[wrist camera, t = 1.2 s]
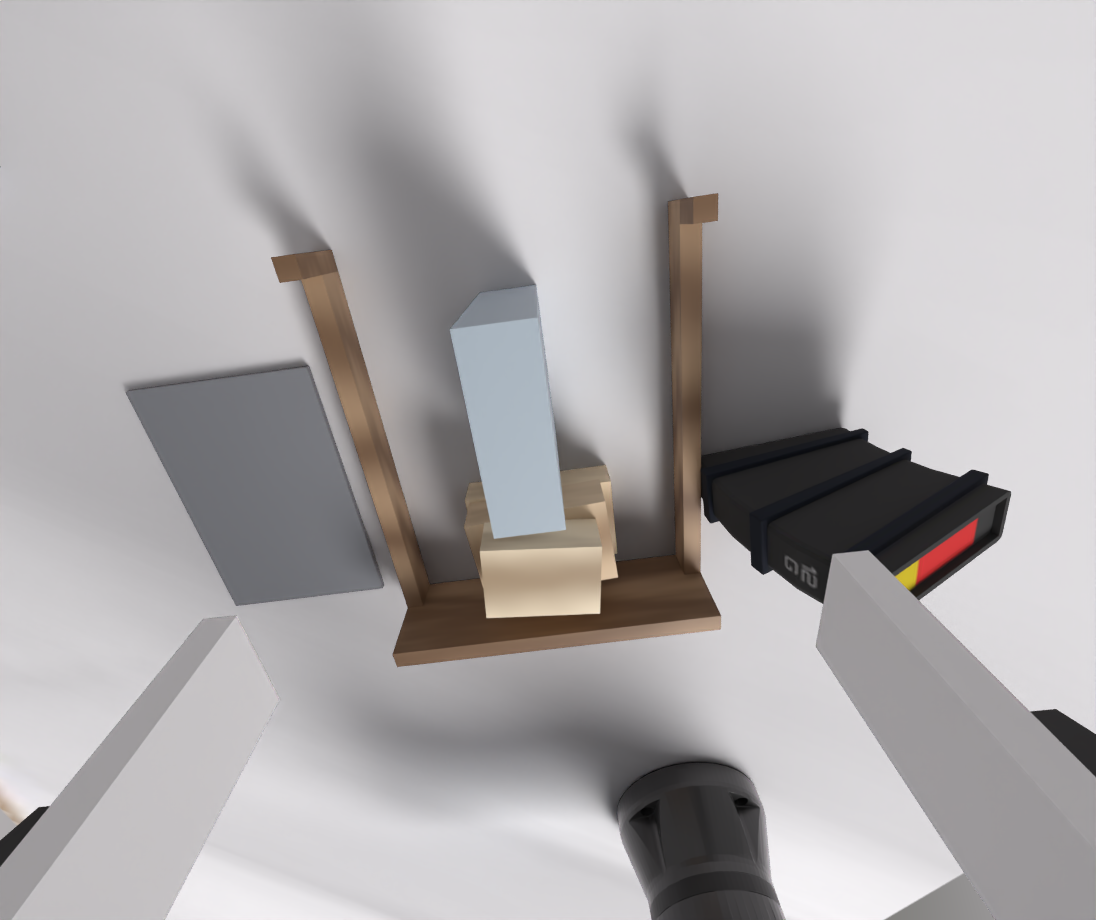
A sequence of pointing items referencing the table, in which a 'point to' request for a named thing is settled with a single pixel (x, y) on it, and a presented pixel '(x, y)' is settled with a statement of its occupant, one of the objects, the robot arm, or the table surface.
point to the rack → (459, 607)
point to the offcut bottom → (567, 478)
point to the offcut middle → (578, 504)
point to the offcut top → (543, 572)
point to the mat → (262, 483)
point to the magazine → (849, 509)
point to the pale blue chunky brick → (510, 410)
